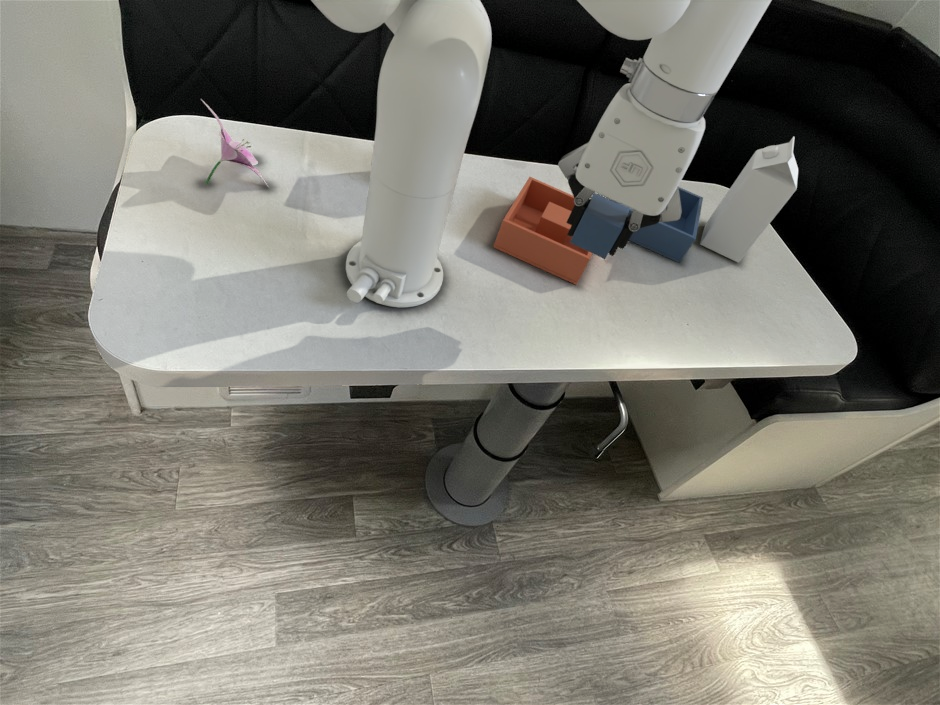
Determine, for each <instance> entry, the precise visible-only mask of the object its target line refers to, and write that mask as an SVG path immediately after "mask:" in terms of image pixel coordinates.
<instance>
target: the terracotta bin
mask: <svg viewBox="0 0 940 705" xmlns="http://www.w3.org/2000/svg"><path fill="white" fill-rule="evenodd" d="M574 199H575V198H574V196H573V194H571V193H568V192H567V191H564V190H562V189H560V188H557V187H554V186H552V185H550V184H548V183H546V182H543V181H541V180H538V179H537V178H534V177H532V176H529V177H528V178H527V180H526V182H525V184H523V187H522V188H521V190H520V191H519V193H518V195H517V196H516V198H515V199H514V201H513V202H512V204H511V206H510V207H509V209H508V211H507V213H506V214H505V216H504V218H503V219H502V220H501V221H502V222H501V224H500V227H499V230H498V232H497V236H496V238H495V241H494V244H493V249H496V250H498V251H500V252H503V253H505V254H506V255H509V256H510V257H511V256H512V257H514V258H516V259H518V260H519V261H522V262H524V263H527V264H529V265H532V266H534V267H535V268H538V269H540V270H542V271H544V272H547V273H549V274H551V275H553V276H555V277H558V278H560V279H562V280H565V281H567V282H569V283H571V284H573V285H576V286H577V285H578V283H579V281H580V279H581V278H582V275H583V274H584V272H585V270H586V268H587V266H588V264H589V262H590V261H591V258H592V255H593V253H591V252H589V251H587V250H585V249H582V248H580V247H578V246H576V245H574V244H572V243H570V241H571V239H572V237H573V236H568V235H567V237H566V239H565V241H564V243H563V244H560V243H558V242H556V241H554V240H551V239H549V238H547V237H545V236H543V235H540V234H538V233H536V232H535V231H536V228H537V226H538V223H539V221H540V219H541V216H542V214H543V213H544V211H545V209H546V207H547V205H548V203H549V202H552V203H554V204H556V205H558V206H561V207H563V208H565V209H567V210H570V211H572V210H573V207H574V205H575V203H574Z"/></svg>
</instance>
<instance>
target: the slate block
mask: <svg viewBox="0 0 940 705" xmlns="http://www.w3.org/2000/svg"><path fill="white" fill-rule="evenodd" d="M629 210H630V209H628V208H626V207H624V206H622V205H620V204H618V203H615V202H614V201H613V200H611V199H609V198H607V197H605V196H603V195H600V194H598V193H596V192H594V193H593V195H592V196H591V197H590V202H589V204H588V206H587V208H586V210H585V212H584V214H583V216H582V218H581V221H580V223H579V225H578V227H577V229H576V231H575V233H574V235H573V237H572V239H571V241H570V243H572V244H574V245H576V246H578V247H580V248H582V249H585V250H587V251H589V252H591V253H592V255H596V256H597V257H599V258H602V259H604V260H606V258H607V257H608V255H609V251H610V250H611V248H612V246H613V244H614V243H615V241H616V239H617V237H618V236H619V234H620V232H621V230H622V228H623V226H624V223H625V220H626V218H627V215H628V213H629Z"/></svg>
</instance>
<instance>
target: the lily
mask: <svg viewBox="0 0 940 705" xmlns="http://www.w3.org/2000/svg"><path fill="white" fill-rule="evenodd" d="M200 101H202V103H203V105H204V106H206V108H207V109H208V110H209V111H210V113H211V114H212V115H213V116H214V118H215V119H216V121H217V122H218V124H219V126H220V131H218V132H217V133H218V136H219V137H220V158H219V160H218V161H217V163H216V164H215V165H214V167H213V168H212V169H211V171H210V173H209V175H208V177H207V179H206V181H205V184H206V185H209V184H210V180H211V178H212V177H213V175H214V173H215V171H216V169H217V168H218V167H219V166H220V164H221V163H223V162H225V161H226V162H230V163H235V164H238V165H242V166H244V167H246V168H248V169H250V170H251V171H253V172H254V173H255V175H257V176H258V177H259V178H260V179H261V180H262V182H263V183H264V184H265V185H266V186H267V187H269V185H268V183H267V182H266V181H265V179H264V177H263V174H262V172H261V171H260V170H259V169H258V168H256V167H255V166H256V165H258V164H259V162H258V160H257V159H256V157H255V156H254V154H253V153H252V152H251V151H250V150H249V149H248V146H246V145H248V144H250V142H249V141H246V142H244V141H245V138H244V139H242V141H238V140H234V138H233V137H232V136H231V134H230V133H229V132H228V130H227V129H226V128H225V127H224V126H223V123H222V121H221V119H220V117H219V116H218V115H217V114H216V113H215V111H214V110H213V109H212V108H211V107H210V106H209V105H208V104H207V103H206V102H205V101H204V100H203V99H202V98H200ZM243 142H244V143H243Z"/></svg>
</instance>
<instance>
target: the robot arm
mask: <svg viewBox="0 0 940 705" xmlns="http://www.w3.org/2000/svg"><path fill="white" fill-rule="evenodd" d="M310 1H311V2H312V3H313V5H314V6H315V7H316V8H317V9H318V10H319V12H321V13H322V15H324V17H325V18H326V19H327V20H328V21H330V22H331V23H332V24H334V25H335V26H336V27H338V28H340V29H342V30H344V31H347V32H349V33H350V32H351V33H355V34H356V33H357V34H362V33H367V32H371V31H373V30H375V29H378V28H379V27H381V26H382V25H383V24H385V26H386V27H387V28H388V29H389V30H390V31H391V33H392V34H393V37H392V39H391V41H390V43H389V45H388V47H387V49H386V52H385V55H384V57H383V59H382V60H383V61H382V63H381V67H380V71H379V77H378V81H377V94H376V95H377V96H376V119H375V120H376V121H375V132H374V142H373V143H374V144H373V149H372V155H371V156H372V157H371V164H370V166H371V167H370V173H369V180H368V181H369V183H368V189H367V195H366V196H367V197H366V205H365V210H364V211H365V212H364V219H363V226H362V232H361V233H362V234H361V240H359V241H358V242H356V243H355V244H354V245H353V246H352V247H351V249H350V250H349V252H348V253H347V255H346V261H345V272H346V277H347V279H348V282H350V284H351V286H350V287H349V288H348V290H347V291H346V296H347V298H348V299H349V300H350V301H351V302H353V303H355V304H356V303H360V302H362V301H363V299H364V298H366V299H368V300H370V301H372V302H374V303H376V304H379V305H383V306H386V307H391V308H413V307H417V306H420V305H423V304H425V303H428V302H429V301H431V300H432V299H433V298H434V297H435V296H436V295H438V293H439V291H440V290H441V287H442V284H443V281H444V269H443V266H442V263H441V261H440V260H439V258H438V253H439V249H440V246H441V242H442V239H443V235H444V231H445V227H446V223H447V219H448V217H449V216H448V215H449V213H450V208H451V204H452V201H453V197H454V194H455V190H456V186H457V180H458V178H459V174H460V170H461V166H462V162H463V158H464V154H465V151H466V147H467V144H468V141H469V137H470V134H471V130H472V128H473V125H474V121H475V118H476V115H477V111H478V107H479V104H480V100H481V96H482V92H483V87H484V82H485V78H486V75H487V70H488V63H489V59H490V54H491V48H492V41H493V40H492V39H493V38H492V35H493V33H492V26H491V22H490V18H489V16H488V13H487V10H486V8H485V7H484V5H483V3H482V2H481V0H310ZM576 1H577V2H578V3H579V5H581V6H582V7H583V9H585V11H586V12H587V13H588V14H589V15H590V16H591V17H592V18H594V20H595V21H596V22H597V23H598V24H599V25H601V26H602V27H603V28H604V29H606V30H607V31H608V32H609V33H611V34H613V35H615V36H616V37H619V38H622V39H626V40H629V41H630V40H631V41H632V40H633V41H644V40H649V39H651V40H650V41H649V42H650V43H649V44H648V47H647V49H646V50H645V53H644V55H643V56H642V58H641V57H639V58H638V60H637V59H630V58H628V57H625V60H624V61H623V64H622V65H621V67H620V71H619V73H622V75H626V78H628V82H629V83H625V84H623V85H622V87H620V89H619V90H618V91H617V92H616V93H615V95H614V97H613V98H612V99H611V101H610V103H609V104H608V106H607V107H606V109H605V111H604V112H603V115H602V116H601V118H600V119H599V121H598V123H597V126H596V127H595V129H594V131H593V132H592V135H591V137H590V139H589V141H588V142H586V143H584V144H583V145H581V146H579V147H577V148H575V149H574V150H572V151H570V152H568V153H566V154H565V155H563V156H561V158H560V159H559V161H558V164H557V166H558V168H559V170H560V171H561V173H562V175H563V176H564V177H565V179H566V180H567V184H568V186H569V188H570V191H571V193H572V194H571V195H573V196H574V198H575V199H574V203H575V205H574V207H573V210H572V212H571V214H570V216H569V218H568V220H567V222H566V223H568V224H570V225H572V226H571V228H570V230H569V232H568V234H567V235H568V236H573V235H574V233H575V231H576V229H577V227H578V225H579V223H580V221H581V218H582V216H583V214H584V212H585V210H586V208H587V206H588V204H589V202H590V200H591V198H592V196H593V194H594V193H596V194H598V195H600V196H602V197H605V198H607V199H609V200H611V201H613V202H614V201H616V202H618V203H620V204H622V205H624V206H626V207H629V208H631V209H633V210H632V214H630V215H628V217H627V218H626V220H625V223H624V226H623V228H622V230H621V232H620V234H619V236H618V237H617V239H616V241H615V243H614V244H613V246H612V248H611V250H610V251H609V253H608V255H609V256H611V257H614V255H615V254H616V252H617V250H618V249H621V250H624V249H625V247H627V244H628V242H630V241H629V239H630V237H631V235H632V234H633V232H636V231H638V230H639V228H642V227H646V226H650V225H654V224H657V223H658V222H670V221H677V220H679V219H680V217H681V213H682V209H681V202H680V195H679V187H680V186H679V185H680V184H681V182H682V180H683V178H684V176H685V174H686V172H687V170H688V168H689V167H690V165H691V163H692V161H693V159H694V157H695V155H696V153H697V151H698V148H699V147H700V144H701V141H702V139H703V136H704V133H705V130H706V119H705V118H704V116H705V114H706V112H707V111H708V109H709V107H710V105H711V104H712V102H713V100H714V99H715V97H716V95H717V93H718V91H719V90H720V88H721V86H722V85H723V83H724V82H725V80H726V78H727V77H728V75H729V73H730V72H731V69H732V68H733V66H734V64H735V63H736V62H737V60H738V58H739V56H740V55H741V53H742V51H743V49H744V48H745V46H746V45H747V43H748V41H749V39H750V38H751V36H752V35H753V33H754V31H755V29H756V28H757V26H758V24H759V22H760V21H761V20H762V17H763V16H764V14H765V13H766V11H767V9H768V8H769V6H770V4H771V2H772V1H773V0H576ZM660 199H661V200H660Z"/></svg>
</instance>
